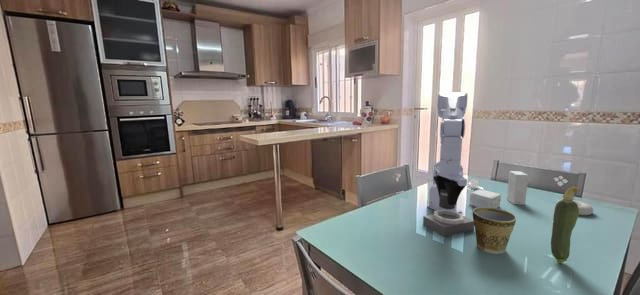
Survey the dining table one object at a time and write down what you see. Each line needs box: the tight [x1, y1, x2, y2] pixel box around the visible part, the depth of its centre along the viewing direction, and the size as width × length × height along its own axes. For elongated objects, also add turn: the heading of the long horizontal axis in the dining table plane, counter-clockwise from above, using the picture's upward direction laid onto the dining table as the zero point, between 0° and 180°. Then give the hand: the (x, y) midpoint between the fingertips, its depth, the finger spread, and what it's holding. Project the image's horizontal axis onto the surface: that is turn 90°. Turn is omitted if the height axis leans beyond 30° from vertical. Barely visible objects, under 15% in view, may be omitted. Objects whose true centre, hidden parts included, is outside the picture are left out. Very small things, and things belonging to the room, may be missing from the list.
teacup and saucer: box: [464, 179, 485, 191], centre depth 127 cm, size 9×8×4 cm
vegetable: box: [550, 185, 580, 265], centre depth 67 cm, size 4×4×20 cm
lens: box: [439, 189, 455, 209], centre depth 85 cm, size 4×4×5 cm
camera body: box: [422, 209, 475, 238], centre depth 88 cm, size 9×12×4 cm
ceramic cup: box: [472, 207, 517, 255], centre depth 76 cm, size 13×10×10 cm
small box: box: [468, 189, 502, 209], centre depth 105 cm, size 8×8×5 cm
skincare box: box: [506, 170, 529, 206], centre depth 108 cm, size 6×4×12 cm
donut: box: [555, 199, 594, 216], centre depth 99 cm, size 10×4×10 cm
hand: (447, 201), depth 85 cm, fingers closed on lens, 4 cm apart
